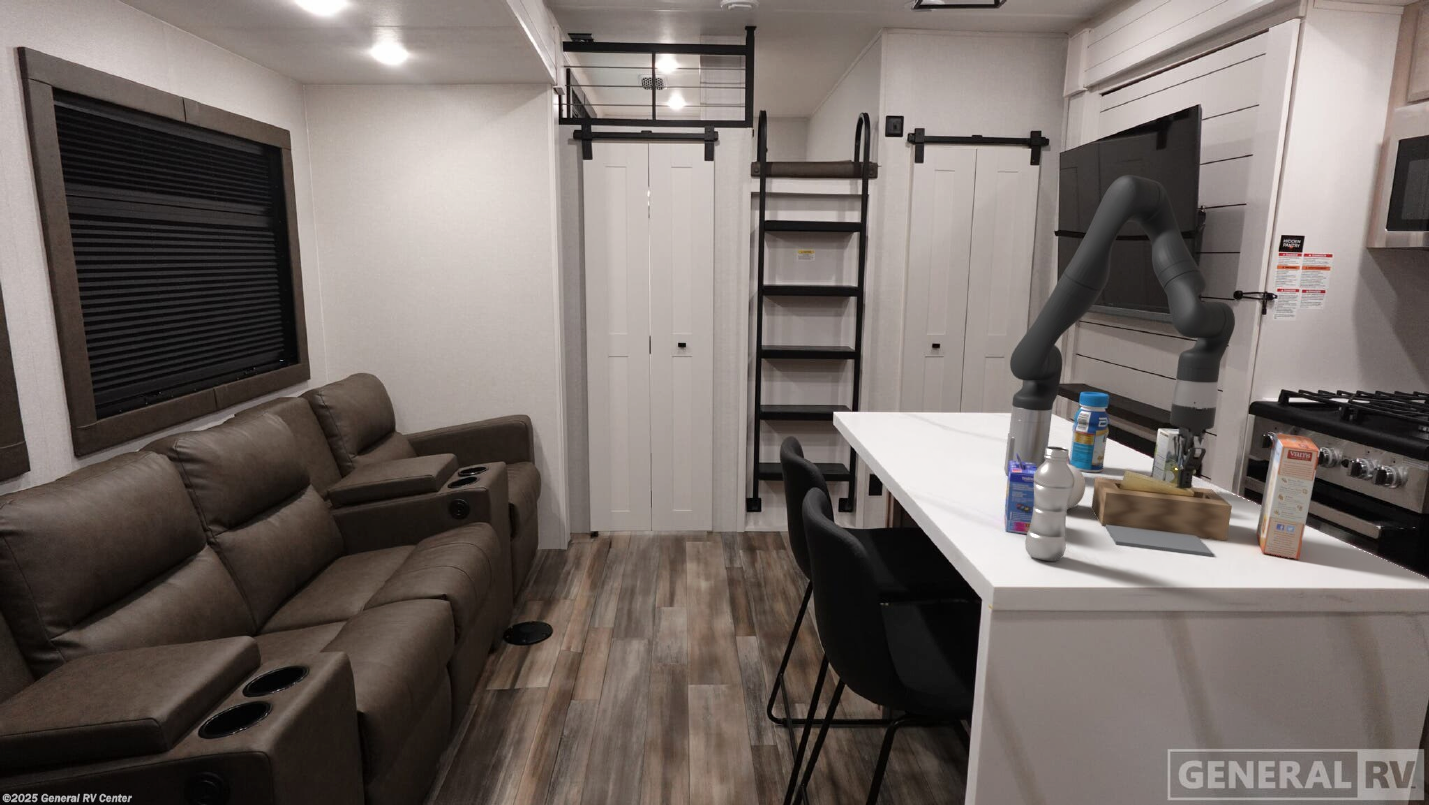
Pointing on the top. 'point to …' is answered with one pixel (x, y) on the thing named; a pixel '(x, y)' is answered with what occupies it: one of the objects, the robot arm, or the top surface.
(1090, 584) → the top surface
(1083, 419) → the beverage bottle
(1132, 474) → the pale yellow rectangular block
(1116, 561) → the top surface
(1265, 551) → the cracker box
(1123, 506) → the pocket board
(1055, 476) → the plastic bottle
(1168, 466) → the syrup box
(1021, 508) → the ink cartridge box
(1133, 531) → the slate mat
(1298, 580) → the top surface
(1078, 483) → the ornament
